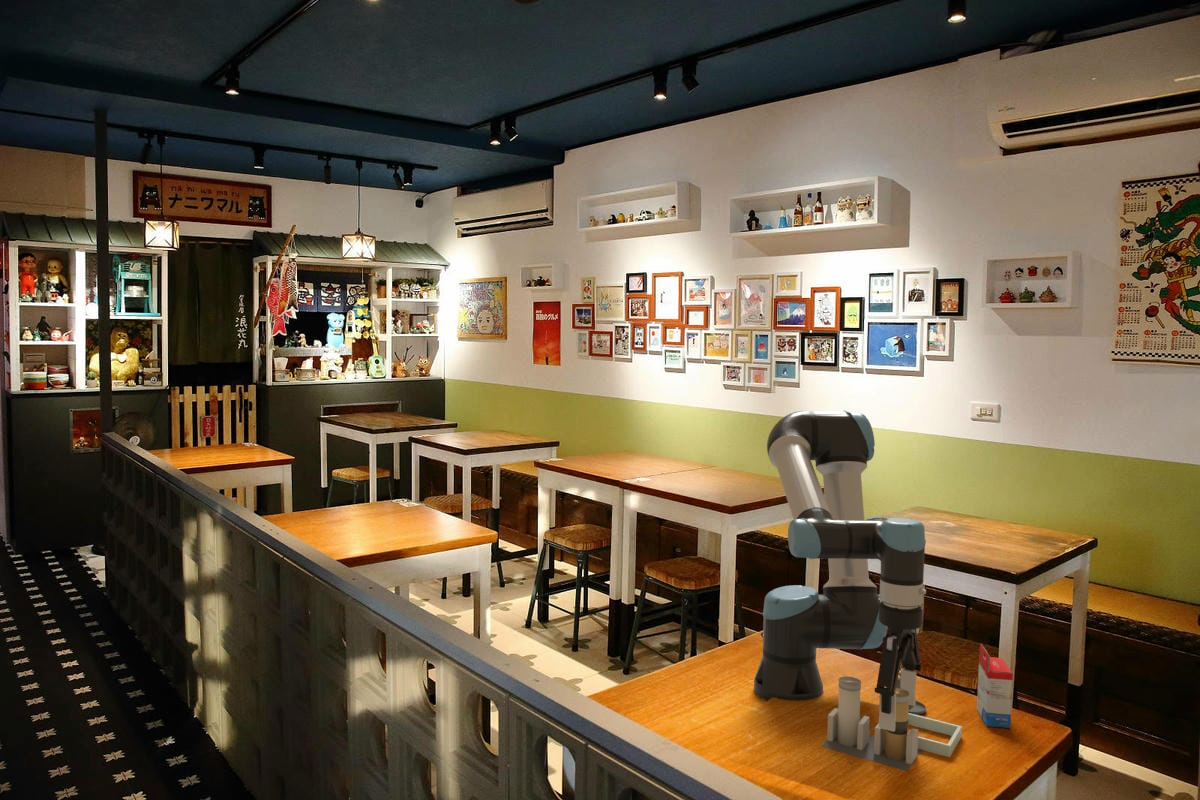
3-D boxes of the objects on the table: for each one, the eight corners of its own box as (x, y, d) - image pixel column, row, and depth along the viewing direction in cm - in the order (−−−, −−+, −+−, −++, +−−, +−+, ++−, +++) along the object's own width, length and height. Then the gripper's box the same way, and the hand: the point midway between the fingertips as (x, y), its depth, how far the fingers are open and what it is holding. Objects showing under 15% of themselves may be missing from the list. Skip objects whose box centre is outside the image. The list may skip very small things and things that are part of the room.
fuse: (833, 742, 162) (835, 681, 161) (841, 734, 165) (842, 674, 164) (855, 748, 160) (857, 686, 159) (861, 740, 163) (863, 679, 162)
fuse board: (820, 753, 160) (821, 720, 160) (838, 733, 169) (839, 702, 168) (907, 779, 151) (908, 744, 151) (921, 757, 160) (922, 723, 159)
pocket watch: (925, 705, 182) (927, 660, 182) (926, 722, 174) (928, 675, 174) (885, 700, 185) (887, 655, 184) (885, 716, 177) (886, 669, 176)
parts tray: (884, 746, 164) (884, 728, 163) (898, 727, 172) (899, 710, 171) (949, 764, 157) (950, 746, 156) (961, 744, 165) (961, 726, 165)
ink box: (1011, 729, 172) (1014, 659, 171) (985, 726, 173) (988, 656, 172) (1000, 711, 180) (1003, 644, 179) (975, 709, 181) (978, 642, 180)
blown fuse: (881, 755, 157) (883, 693, 156) (887, 747, 160) (889, 685, 159) (903, 762, 154) (906, 698, 154) (909, 753, 158) (912, 691, 157)
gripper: (903, 624, 143) (899, 746, 144) (938, 591, 163) (935, 698, 165) (859, 616, 147) (856, 734, 148) (899, 585, 168) (895, 689, 169)
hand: (897, 716), depth 156 cm, fingers open, 13 cm apart
